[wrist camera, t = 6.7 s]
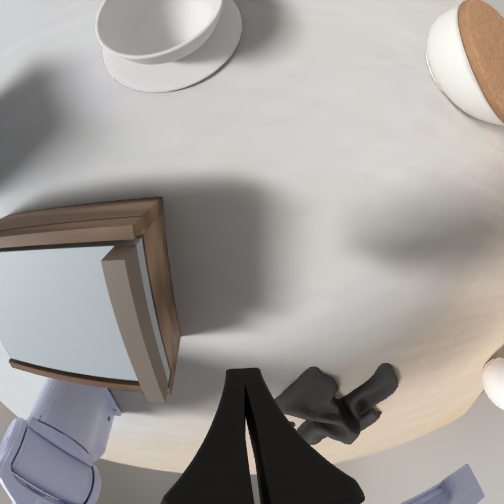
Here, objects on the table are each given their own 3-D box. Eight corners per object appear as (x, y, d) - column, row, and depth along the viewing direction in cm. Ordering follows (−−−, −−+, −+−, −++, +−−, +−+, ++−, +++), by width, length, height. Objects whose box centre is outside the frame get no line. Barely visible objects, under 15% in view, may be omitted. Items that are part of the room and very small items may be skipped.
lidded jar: (465, 33, 13) (528, 23, 4) (485, 126, 17) (555, 138, 8) (390, 7, 13) (459, -29, 4) (418, 119, 17) (507, 124, 8)
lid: (170, 372, 17) (165, 403, 14) (15, 351, 16) (1, 370, 13) (141, 237, 13) (124, 260, 11) (-26, 249, 12) (-48, 264, 9)
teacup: (224, 101, 16) (224, 87, 12) (91, 93, 14) (57, 83, 10) (254, -11, 12) (263, -44, 8) (128, -15, 11) (109, -42, 6)
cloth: (262, 368, 25) (270, 417, 20) (414, 339, 27) (440, 372, 21) (262, 454, 34) (267, 486, 28) (369, 432, 35) (380, 459, 30)
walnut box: (180, 336, 22) (171, 394, 16) (40, 327, 21) (12, 367, 15) (162, 196, 18) (132, 224, 12) (6, 216, 16) (-41, 241, 10)
